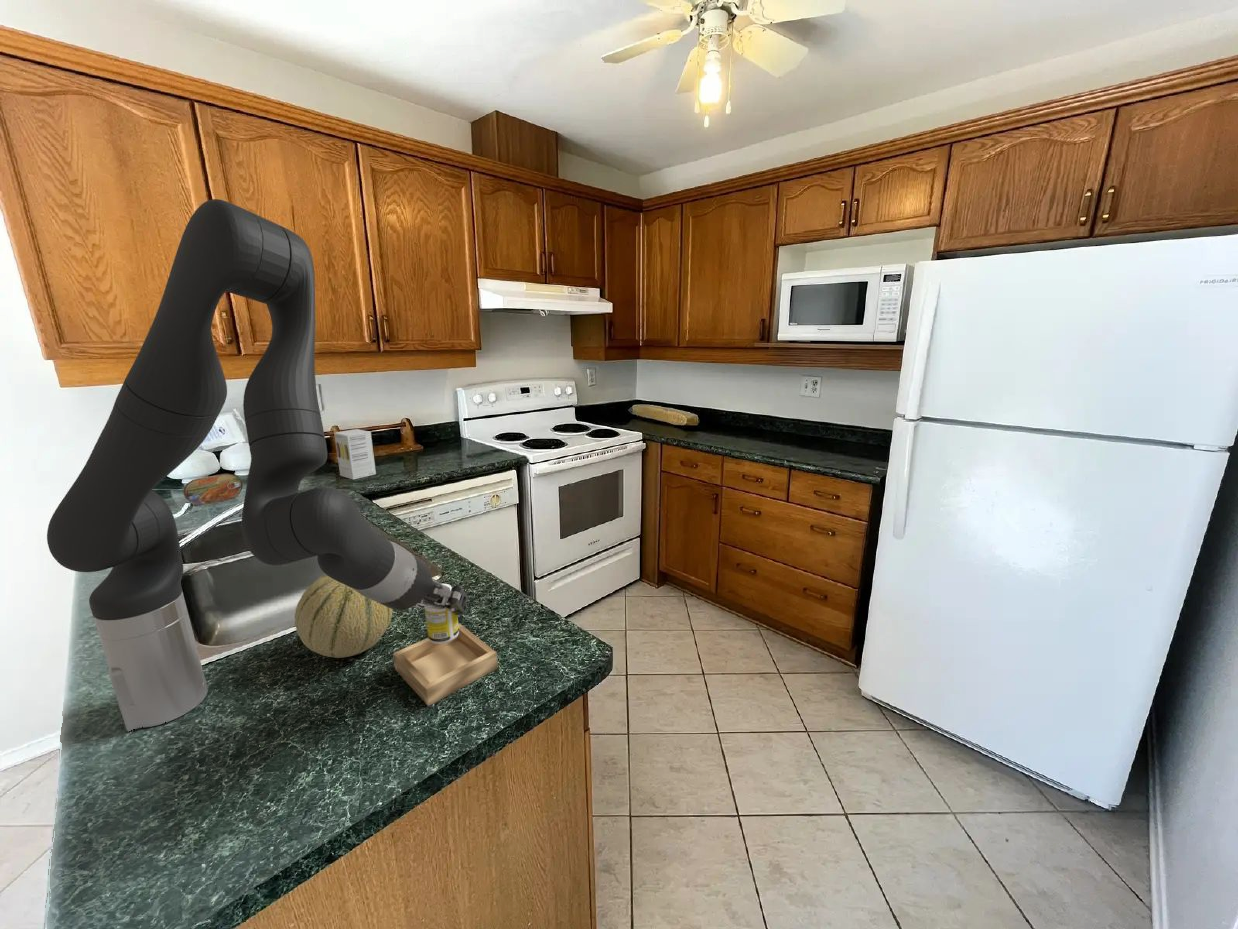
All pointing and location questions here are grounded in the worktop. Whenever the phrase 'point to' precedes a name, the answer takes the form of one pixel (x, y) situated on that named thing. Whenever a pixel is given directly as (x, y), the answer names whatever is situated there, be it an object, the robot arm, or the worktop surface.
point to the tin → (213, 489)
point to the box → (444, 665)
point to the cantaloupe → (339, 619)
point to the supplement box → (355, 453)
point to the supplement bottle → (441, 624)
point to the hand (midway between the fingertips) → (447, 607)
